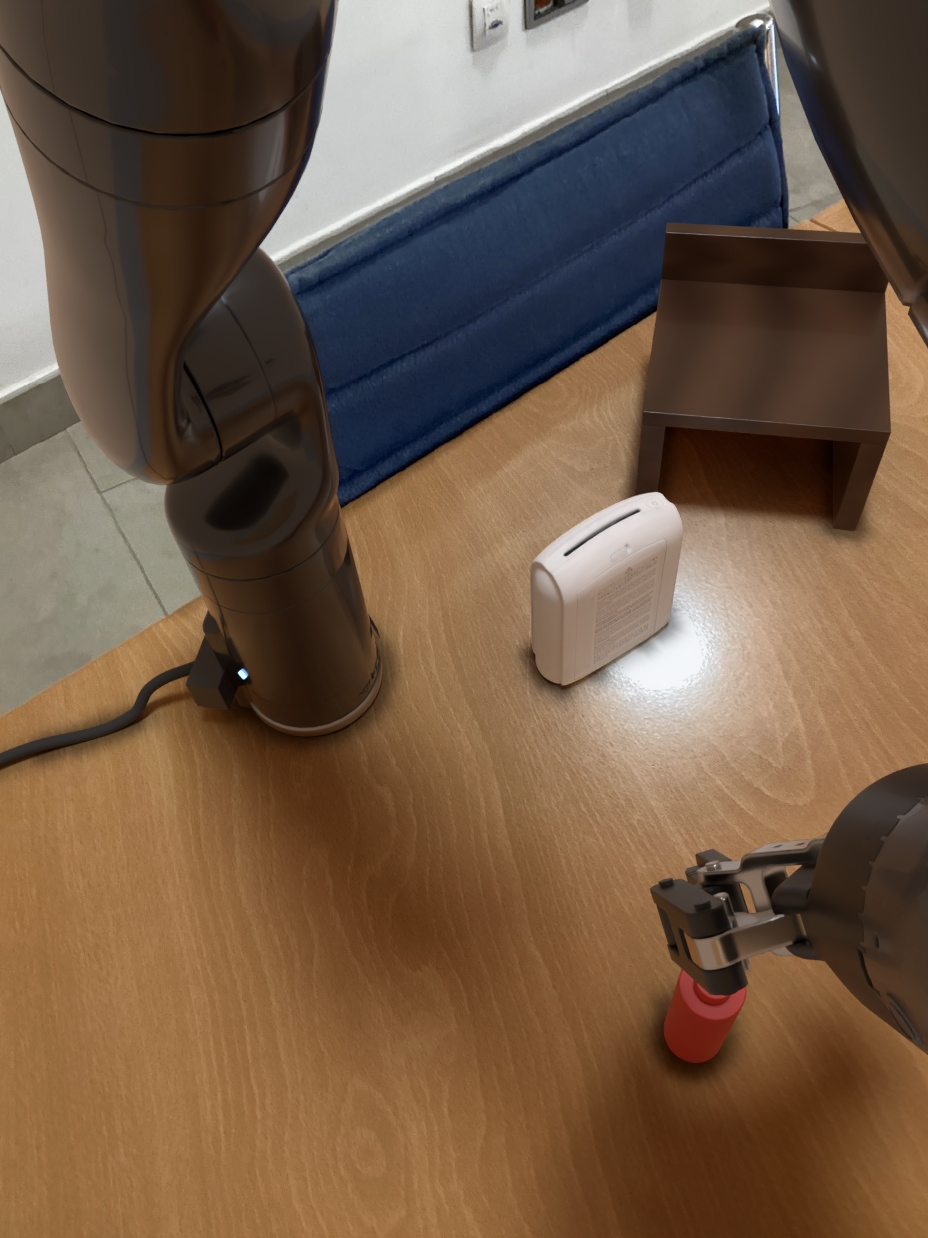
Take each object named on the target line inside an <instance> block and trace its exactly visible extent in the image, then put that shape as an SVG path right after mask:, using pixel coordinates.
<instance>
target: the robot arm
mask: <svg viewBox="0 0 928 1238" xmlns="http://www.w3.org/2000/svg"><path fill="white" fill-rule="evenodd" d="M339 3H340V0H0V94H1V96H2V99H3V102H4V106H5V109H6V112H7V114H8V117H9V121H10V124H11V128H12V131H13V134H14V137H15V140H16V145H17V148H18V151H19V154H20V158H21V161H22V164H23V165H22V166H23V168H24V171H25V174H26V180H27V183H28V186H29V190H30V193H31V197H32V200H33V204H34V207H35V212H36V216H37V220H38V225H39V229H40V235H41V241H42V248H43V258H44V268H45V269H44V270H45V278H46V279H45V280H46V290H47V303H48V313H49V323H50V332H51V339H52V346H53V350H54V354H55V359H56V363H57V366H58V371H59V372H60V376H61V377H60V378H61V379H62V382H63V385H64V388H65V390H66V393H67V396H68V398H69V400H70V402H71V404H72V407H73V409H74V411H75V413H76V414H77V416H78V418H79V420H80V422H81V424H82V426H83V427H84V429H85V430H86V432H87V434H88V435H89V437H90V438H91V439H92V441H93V442H94V444H95V445H96V446H97V447H98V449H100V450H101V452H102V453H103V454H104V455H105V456H106V457H107V458H108V459H109V460H110V461H111V462H112V463H113V464H114V465H115V466H117V468H119V469H120V470H122V471H123V472H125V473H126V474H127V475H129V476H132V477H133V478H135V479H137V480H139V481H141V482H144V483H146V484H150V485H155V486H165V490H164V497H163V508H164V513H165V514H164V516H165V519H166V522H167V524H168V528H169V531H170V532H171V534H172V536H173V539H174V541H175V543H176V545H177V547H178V549H179V551H180V554H181V555H182V557H183V560H184V561H185V564H186V566H187V568H188V570H189V572H190V575H191V577H192V578H193V579H192V580H193V581H194V583H195V585H196V587H197V589H198V591H199V593H200V595H201V597H202V599H203V602H204V604H205V606H206V609H207V611H206V613H205V615H204V618H203V621H202V625H201V628H202V629H201V630H202V633H203V634H204V635H203V639H202V641H201V644H200V646H199V649H198V651H197V654H196V657H195V659H194V660H192V661H189V662H188V663H184V664H182V665H179V666H176V667H173V668H170V669H167V670H165V671H163V672H160V673H159V674H158V675H155V676H154V677H152V678H151V679H150V680H149V681H147V682H146V683H145V684H144V685H143V686H142V687H141V689H140V690H139V692H138V694H137V696H136V699H135V702H134V704H133V705H132V707H131V708H130V709H128V710H127V711H126V712H124V713H123V714H120V715H119V716H118V717H116V718H113V719H112V720H109V721H107V722H105V723H102V724H99V725H96V726H92V727H89V728H83V729H79V730H75V731H71V732H65V733H61V734H56V735H52V736H47V737H42V738H39V739H36V740H32V741H29V742H25V743H23V744H20V745H17V746H15V747H11V748H8V749H6V750H4V751H2V752H0V767H1V766H4V765H6V764H8V763H11V762H14V761H16V760H18V759H21V758H24V757H27V756H30V755H33V754H36V753H40V752H42V751H47V750H50V749H51V750H52V749H56V748H59V747H64V746H69V745H74V744H79V743H83V742H87V741H91V740H95V739H99V738H102V737H105V736H108V735H110V734H113V733H115V732H118V731H119V730H121V729H123V728H125V727H127V726H128V725H130V724H131V723H133V722H134V721H136V720H137V719H139V718H140V717H141V715H142V714H143V713H144V711H145V710H146V708H147V706H148V704H149V701H150V699H151V697H152V695H153V694H154V693H156V691H158V690H159V689H160V688H162V687H164V686H166V685H167V684H169V683H171V682H174V681H177V680H179V679H182V678H185V677H187V679H186V682H185V687H186V688H187V690H188V692H189V694H190V696H191V698H192V699H193V701H194V703H195V704H196V707H202V708H209V709H215V710H224V711H230V709H231V707H232V703H233V701H234V698H235V700H236V701H237V703H238V705H239V707H242V708H246V709H247V708H248V709H252V710H253V711H254V713H255V714H256V715H257V717H258V718H259V719H260V720H261V721H262V722H263V723H264V724H266V725H267V726H269V727H270V728H272V729H274V730H276V731H278V732H280V733H283V734H286V735H291V736H295V737H316V736H317V737H318V736H322V735H326V734H331V733H334V732H336V731H339V730H341V729H344V728H345V727H347V726H349V725H351V723H353V722H355V721H356V720H358V719H359V718H360V717H361V716H362V715H363V714H364V713H365V712H366V711H367V710H368V709H369V708H370V707H371V705H372V704H373V702H374V700H375V699H376V697H377V696H378V693H379V691H380V688H381V685H382V682H383V681H382V680H383V675H384V674H383V673H384V671H383V670H384V669H383V660H382V656H381V652H380V648H379V646H378V644H377V641H376V639H375V635H374V631H375V633H376V634H377V637H378V638H379V639H381V637H380V632H379V629H378V627H377V625H376V624H375V622H374V621H373V619H372V617H371V615H370V614H369V611H368V608H367V607H368V606H367V604H366V600H365V597H364V592H363V589H362V584H361V581H360V577H359V572H358V568H357V565H356V560H355V557H354V554H353V550H352V546H351V542H350V539H349V534H348V530H347V527H346V523H345V519H344V515H343V512H342V511H343V510H342V508H341V507H342V506H341V503H340V499H339V494H338V488H339V482H340V471H339V464H338V458H337V454H336V449H335V444H334V437H333V432H332V426H331V421H330V415H329V409H328V403H327V395H326V390H325V384H324V379H323V373H322V369H321V363H320V359H319V354H318V351H317V348H316V344H315V341H314V338H313V335H312V331H311V328H310V325H309V322H308V320H307V317H306V314H305V312H304V310H303V308H302V306H301V303H300V301H299V300H298V297H297V295H296V293H295V291H294V289H293V287H292V286H291V284H290V282H289V281H288V279H287V277H286V276H285V274H284V273H283V271H282V270H281V268H280V267H279V266H278V265H277V264H276V262H275V261H274V259H272V258H271V257H270V255H268V253H267V252H266V251H265V250H264V248H261V245H262V244H263V242H264V241H265V239H266V238H267V237H268V235H269V234H270V233H271V231H272V230H273V228H274V227H275V225H276V224H277V222H278V220H279V219H280V217H281V216H282V214H283V212H284V211H285V209H286V208H287V206H288V205H289V202H290V201H291V199H293V196H294V194H295V192H296V191H297V188H298V186H299V184H300V182H301V180H302V178H303V176H304V174H305V172H306V170H307V167H308V164H309V161H310V159H311V156H312V152H313V149H314V145H315V142H316V138H317V135H318V132H319V127H320V125H321V124H320V123H321V120H322V114H323V108H324V102H325V96H326V91H327V90H326V89H327V85H328V84H327V83H328V76H329V69H330V63H331V57H332V51H333V45H334V38H335V33H336V26H337V21H338V12H339ZM768 4H769V8H770V12H771V15H772V19H773V22H774V26H775V29H776V34H777V36H778V40H779V43H780V47H781V51H782V55H783V58H784V62H785V65H786V68H787V70H788V72H789V75H790V77H791V80H792V83H793V85H794V88H795V91H796V94H797V96H798V99H799V102H800V105H801V107H802V110H803V113H804V114H805V117H806V120H807V123H808V126H809V129H810V130H811V133H812V136H813V139H814V141H815V143H816V145H817V147H818V149H819V151H820V153H821V156H822V158H823V159H824V162H825V164H826V166H827V168H828V170H829V172H830V174H831V176H832V178H833V180H834V182H835V184H836V186H837V188H838V191H839V192H840V195H841V197H842V198H843V201H844V203H845V205H846V207H847V209H848V211H849V213H850V216H851V217H852V220H853V223H855V225H856V227H857V229H858V230H859V233H861V234H862V236H863V237H864V239H865V241H866V243H867V244H868V246H869V248H870V250H871V251H872V253H873V255H874V257H875V258H876V260H877V262H878V264H879V265H880V267H881V269H882V271H883V272H884V274H885V276H886V278H887V279H888V281H889V283H888V284H889V286H890V287H891V288H892V291H893V292H894V294H895V295H896V297H897V299H898V301H899V302H900V303H901V305H902V306H904V307H909V309H908V311H907V315H908V317H909V319H910V321H911V322H912V324H913V326H914V328H915V329H916V331H917V333H918V334H919V336H920V338H921V340H922V341H923V343H924V345H925V347H926V349H928V0H768ZM373 630H374V631H373ZM694 857H695V862H696V863H697V864H696V865H694V866H693V865H692V866H689V867H687V868H686V869H685V870H684V874H685V877H686V880H685V879H683V878H673V877H668V878H663V879H661V880H659V881H658V883H657V884H655V885H653V886H651V887H649V891H650V895H651V899H652V901H653V903H654V904H655V906H656V909H657V913H658V915H659V919H660V922H661V926H662V929H663V932H664V936H665V938H666V939H665V940H666V941H667V944H666V947H667V950H668V953H669V956H670V959H671V961H672V962H673V963H675V964H676V965H677V966H678V967H679V968H680V969H681V970H682V969H683V970H684V971H685V972H686V973H687V974H688V975H689V976H690V977H691V978H692V979H694V980H695V981H696V982H697V983H698V984H699V985H700V986H701V987H702V988H703V989H704V990H706V991H707V992H708V993H709V994H711V995H723V996H727V995H732V994H735V993H736V992H738V991H739V990H741V989H743V988H744V987H746V988H747V987H748V985H749V981H748V980H749V979H748V976H747V974H748V973H750V972H751V971H752V965H751V962H750V959H751V958H753V957H757V956H759V955H763V954H766V953H769V952H770V953H772V954H773V955H774V956H777V957H797V958H799V959H802V960H807V961H808V960H809V961H819V962H820V961H821V962H825V964H826V965H827V966H828V967H829V969H830V970H831V971H832V973H833V974H834V975H835V976H836V978H837V979H838V980H839V981H840V982H841V984H842V985H843V986H844V987H845V988H846V989H847V990H848V991H849V992H850V993H851V995H852V996H853V997H855V998H856V1000H858V1002H860V1004H862V1006H864V1007H865V1008H866V1009H867V1010H869V1011H870V1012H871V1013H872V1014H874V1015H875V1016H876V1017H878V1018H879V1019H880V1020H881V1021H883V1022H884V1023H885V1024H887V1025H888V1026H889V1027H891V1028H892V1029H893V1030H895V1031H896V1032H897V1033H898V1034H900V1035H901V1036H902V1037H904V1038H905V1039H906V1040H907V1041H909V1042H910V1043H911V1044H913V1045H914V1047H917V1048H918V1049H919V1050H921V1052H923V1053H925V1054H926V1055H927V1056H928V762H926V763H920V764H915V765H912V766H907V767H903V768H902V769H898V770H896V771H893V772H891V773H889V774H887V775H884V776H883V777H880V778H879V779H877V780H875V781H874V782H872V783H871V784H869V785H867V786H866V787H865V788H863V789H862V790H861V791H860V792H859V793H857V794H856V795H855V796H854V797H853V798H852V799H850V801H849V802H848V803H847V804H846V805H845V806H844V808H843V809H842V810H841V811H840V813H839V814H838V816H837V817H836V818H835V820H834V821H833V823H832V825H831V826H830V827H829V829H828V831H827V832H825V833H823V834H821V835H819V836H817V837H813V838H804V839H794V840H793V839H792V840H784V841H783V840H782V841H775V842H774V841H773V842H767V843H764V844H763V845H761V846H759V847H757V848H755V849H753V850H752V851H749V852H748V853H745V854H743V856H741V858H740V859H739V860H738V859H737V860H733V859H731V858H730V857H728V856H726V855H725V854H723V853H722V852H719V851H718V850H716V849H714V848H710V849H707V850H703V851H700V852H697V853H695V856H694ZM792 866H793V867H794V866H800V867H798V868H797V869H796V870H795V871H794V872H792V873H791V874H790V875H788V872H787V867H792ZM741 885H744V886H745V887H746V888H747V889H748V891H749V894H750V897H751V900H752V902H753V903H752V904H753V907H754V910H755V912H749V909H748V906H747V903H746V899H745V895H744V893H743V889H742V886H741Z"/></svg>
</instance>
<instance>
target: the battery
mask: <svg viewBox="0 0 928 1238" xmlns="http://www.w3.org/2000/svg"><path fill="white" fill-rule="evenodd" d="M747 989H748V988H747V986H746V987H744V988H743V989H741V990H739V991H738V992H736V993H735V994H732V995H727V996H723V995H711V994H709V993H708V992H707V991H706V990H704V989H703V988H702V987H701V986H700V985H699V984H698V983H697V982H696V981H695V980H694V979H692V978H691V977H690V976H689V975H688V974H687V973H686V972H685V971H684V970H683V969H681V970H680V972H679V974H678V979H677V981H676V985H675V987H674V991H673V994H672V996H671V1000H670V1004H669V1007H668V1010H667V1011H666V1012H667V1013H666V1016H665V1018H664V1022H663V1036H664V1040H665V1043H666V1045H667V1046H668V1048H669V1050H670V1051H671V1052H672V1053H673V1055H675V1056H676V1057H678V1058H679V1059H680V1060H683V1061H684V1062H687V1063H692V1064H700V1063H705V1062H708V1061H710V1060H711V1059H713V1058H714V1057H715V1056H716V1055H717V1054H718V1053H719V1051H720V1049H721V1048H722V1046H723V1044H724V1042H725V1041H726V1038H727V1037H728V1034H729V1033H730V1031H731V1029H732V1028H733V1025H734V1023H735V1021H736V1020H737V1018H738V1016H739V1013H741V1010H742V1008H743V1006H744V1004H745V1001H746V999H747Z"/></svg>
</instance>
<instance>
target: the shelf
mask: <svg viewBox="0 0 928 1238" xmlns="http://www.w3.org/2000/svg"><path fill="white" fill-rule="evenodd" d="M662 256H663V257H662V267H661V276H660V277H661V278H660V285H659V292H658V300H657V307H656V315H655V321H654V326H653V328H654V329H653V334H652V335H653V336H652V342H651V348H650V349H651V350H650V356H649V362H648V363H649V364H648V371H647V378H646V384H645V385H646V386H645V393H644V399H643V400H644V401H643V406H642V416H641V426H640V427H641V428H640V437H639V447H638V461H637V469H636V483H635V493H634V496H637V495H641V494H645V493H652V492H659V486H660V477H661V469H662V460H663V453H664V443H665V438H666V437H665V435H666V427H671V428H672V427H673V428H682V429H692V430H693V429H695V430H706V431H717V432H728V433H729V432H730V433H742V434H752V435H753V434H754V435H765V436H775V437H777V436H778V437H787V438H788V437H789V438H801V439H811V440H812V439H813V440H823V441H832V528H833V529H839V530H847V531H849V530H850V531H856V530H857V529H858V525H859V522H860V519H861V517H862V515H863V512H864V509H865V506H866V503H867V500H868V498H869V495H870V492H871V489H872V487H873V485H874V481H875V478H876V476H877V472H878V469H879V467H880V465H881V461H882V459H883V456H884V453H885V451H886V447H887V445H888V442H889V438H890V436H891V434H892V423H891V422H892V420H891V399H890V373H889V352H888V349H889V347H888V346H889V345H888V325H887V324H888V323H887V304H886V299H887V298H886V292H887V289H888V285H889V284H890V283H889V281H888V279H887V278H886V276H885V274H884V272H883V271H882V269H881V267H880V265H879V264H878V262H877V260H876V258H875V257H874V255H873V253H872V251H871V250H870V248H869V246H868V244H867V243H866V241H865V239H864V237H863V236H862V234H861V232H855V231H853V232H852V231H835V230H834V231H833V230H816V229H815V230H813V229H797V228H795V229H794V228H775V227H759V226H757V227H756V226H740V225H739V226H738V225H721V224H702V223H683V222H667V223H666V226H665V236H664V247H663V254H662Z"/></svg>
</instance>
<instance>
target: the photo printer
mask: <svg viewBox="0 0 928 1238" xmlns="http://www.w3.org/2000/svg"><path fill="white" fill-rule="evenodd" d="M684 533H685V532H684V525H683V521H682V518H681V515H680V513H679V511H678V509H677V507H676V505H675V504H674V503H673V502H670V501H669V500H668V499H667V498H666V497H665V496H664V494H663V493H661V492H659V491H658V492H652V493H645V494H641V495H637V496H635V495H634V496H631V497H628V498H625V499H623V500H621V501H618V502H616V503H613V504H611V505H609V506H607V507H604V508H603V509H602V510H599V511H598V512H596V513H594V514H592V515H591V516H589V517H587V518H585V519H583V520H582V521H580V522H579V523H577V524H575V526H572V527H571V528H570V529H568V530H567V531H565V532H563V533H562V534H561V535H560V536H558V537H557V538H556V539H554V540H553V541H552V542H551V543H549V544H548V545H547V546H546V547H545V548H543V550H541V552H540V553H539V554H538V555H537V556H536V557H535V558H534V559H533V560H532V562H531V564H530V567H529V581H530V582H529V583H530V584H529V585H530V587H529V589H530V591H529V592H530V634H531V635H530V636H531V648H532V649H531V650H532V652H533V654H535V665H536V668H537V670H538V671H539V673H540V675H542V676H543V678H545V679H546V680H548V681H550V682H552V683H554V684H557V685H559V684H560V685H561V686H567V685H570V684H572V683H575V682H577V681H579V680H581V679H583V678H585V677H587V676H589V675H590V674H592V673H593V672H595V671H597V670H598V669H600V668H602V667H604V666H605V665H607V664H609V663H610V662H612V661H614V660H616V658H618V657H621V656H622V655H623V654H625V653H627V652H629V651H630V650H631V649H633V648H635V647H636V646H638V645H639V644H641V643H644V642H645V640H647V639H648V638H650V637H651V636H653V635H654V634H655V633H657V632H659V631H660V630H662V628H663V627H665V625H667V623H668V622H669V621H670V619H671V615H672V609H673V602H674V595H675V591H676V583H677V577H678V572H679V571H678V570H679V564H680V558H681V552H682V546H683V540H684Z"/></svg>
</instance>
